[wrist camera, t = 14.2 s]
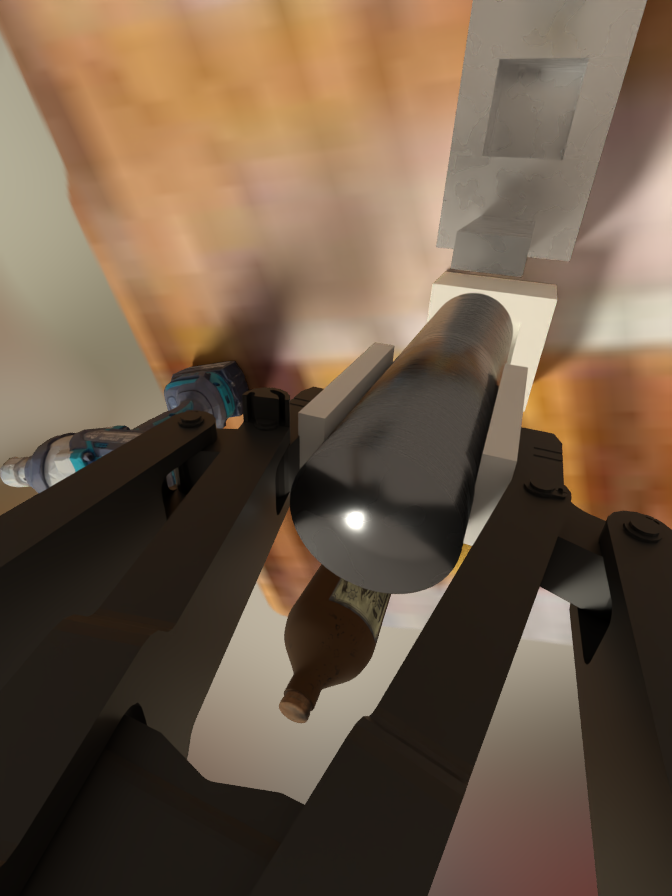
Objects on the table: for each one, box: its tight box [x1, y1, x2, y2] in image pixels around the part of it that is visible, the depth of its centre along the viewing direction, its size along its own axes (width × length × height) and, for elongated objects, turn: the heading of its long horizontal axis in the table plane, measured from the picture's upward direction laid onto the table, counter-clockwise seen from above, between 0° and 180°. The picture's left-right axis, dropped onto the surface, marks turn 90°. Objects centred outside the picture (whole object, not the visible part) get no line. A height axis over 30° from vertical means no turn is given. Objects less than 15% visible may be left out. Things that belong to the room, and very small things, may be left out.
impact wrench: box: [0, 361, 249, 493], centre depth 52 cm, size 8×23×25 cm, turn 105°
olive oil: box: [279, 564, 391, 723], centre depth 56 cm, size 11×11×25 cm
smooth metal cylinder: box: [290, 293, 513, 594], centre depth 17 cm, size 4×4×16 cm
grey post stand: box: [436, 0, 647, 277], centre depth 29 cm, size 18×10×18 cm, turn 177°
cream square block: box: [427, 271, 557, 412], centre depth 43 cm, size 10×10×6 cm
